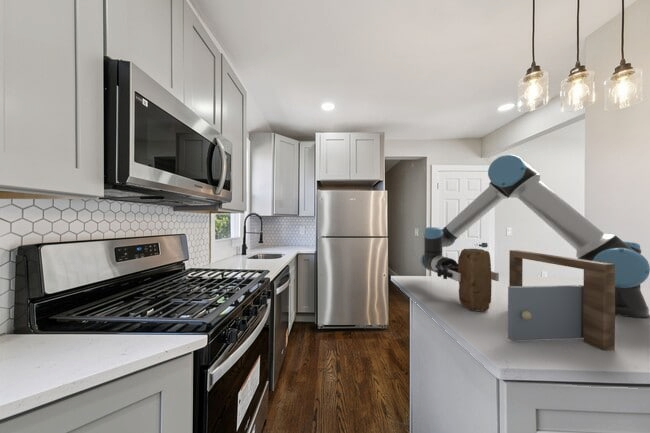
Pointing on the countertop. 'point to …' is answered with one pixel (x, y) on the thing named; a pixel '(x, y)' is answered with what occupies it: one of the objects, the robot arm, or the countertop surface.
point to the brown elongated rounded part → (475, 279)
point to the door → (545, 312)
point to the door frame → (595, 293)
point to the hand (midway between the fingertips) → (478, 277)
